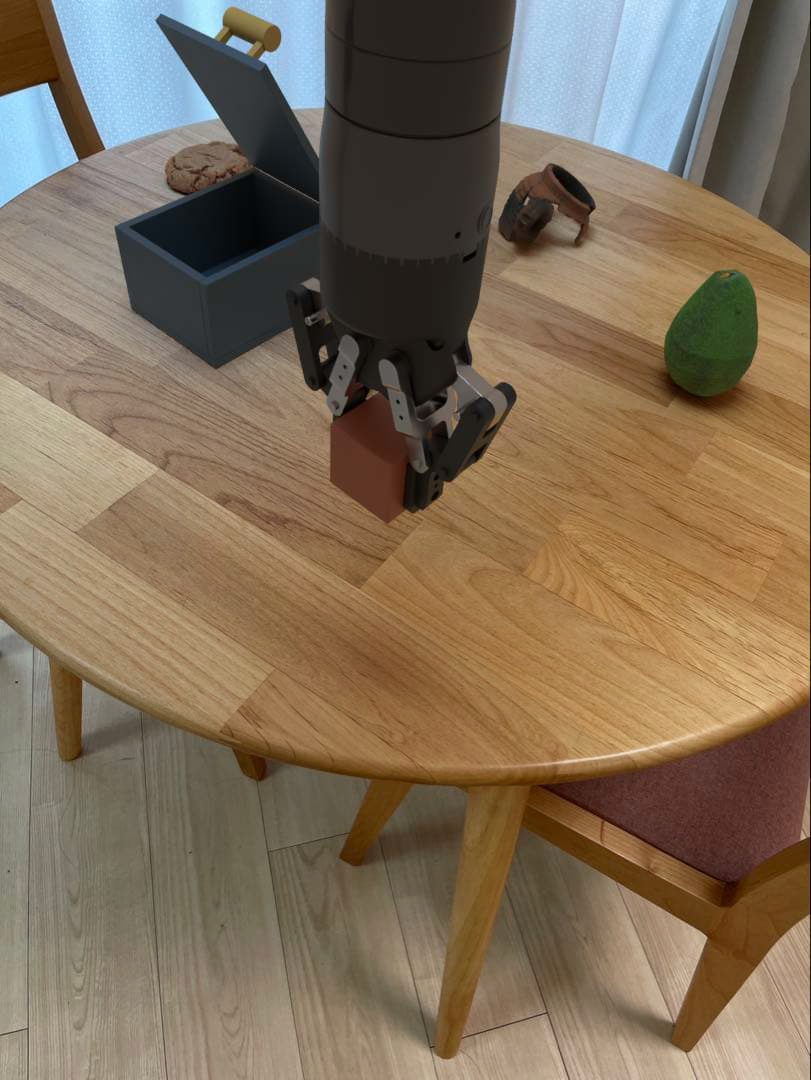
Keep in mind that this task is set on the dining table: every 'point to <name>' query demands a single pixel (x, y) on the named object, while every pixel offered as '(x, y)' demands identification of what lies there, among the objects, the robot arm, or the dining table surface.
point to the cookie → (205, 165)
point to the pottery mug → (545, 203)
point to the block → (370, 458)
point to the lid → (248, 95)
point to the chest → (221, 263)
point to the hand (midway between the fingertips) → (385, 479)
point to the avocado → (713, 335)
